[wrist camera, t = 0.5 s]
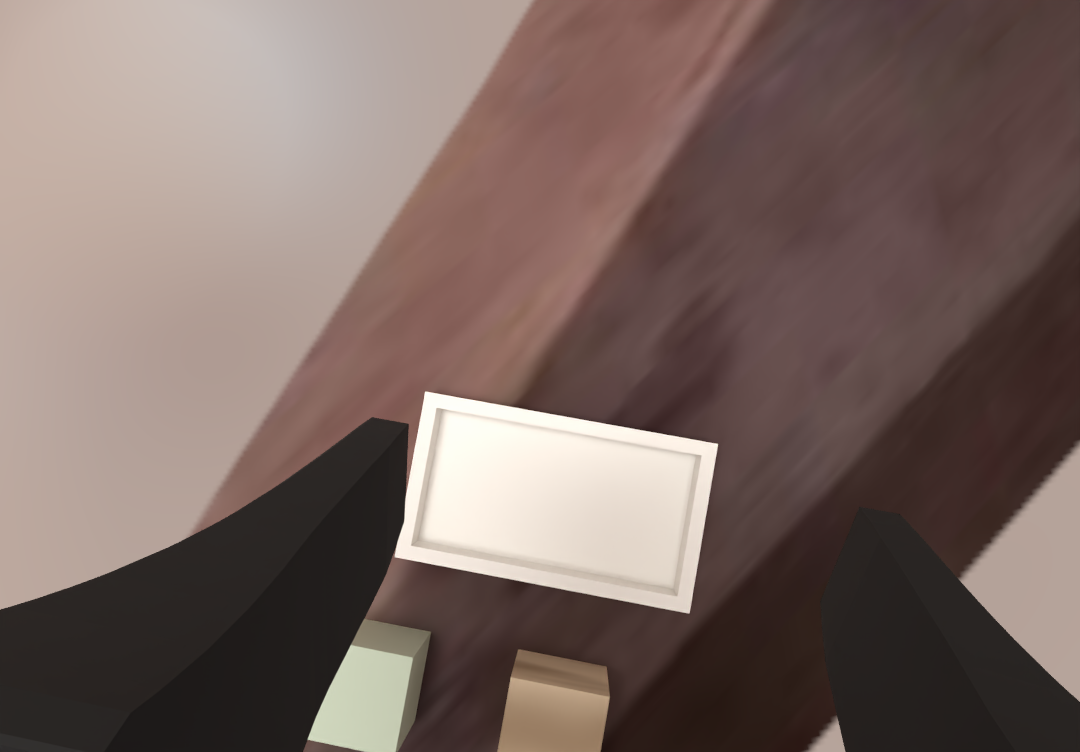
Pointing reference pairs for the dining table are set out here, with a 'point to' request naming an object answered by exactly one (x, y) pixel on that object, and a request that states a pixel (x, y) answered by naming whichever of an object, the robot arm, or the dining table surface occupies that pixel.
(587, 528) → the tray
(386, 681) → the sage block
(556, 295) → the dining table surface
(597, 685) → the birch block
